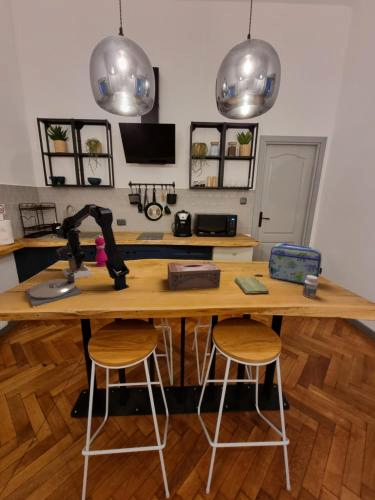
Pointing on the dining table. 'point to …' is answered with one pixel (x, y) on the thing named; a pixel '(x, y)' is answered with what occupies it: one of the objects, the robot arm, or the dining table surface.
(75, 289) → the crank board
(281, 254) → the lunch box
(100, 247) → the pepper mill
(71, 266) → the block
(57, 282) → the crank
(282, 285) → the dining table surface
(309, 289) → the pill bottle
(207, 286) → the tissue box cover
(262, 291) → the washcloth
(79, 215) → the robot arm
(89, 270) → the tray
